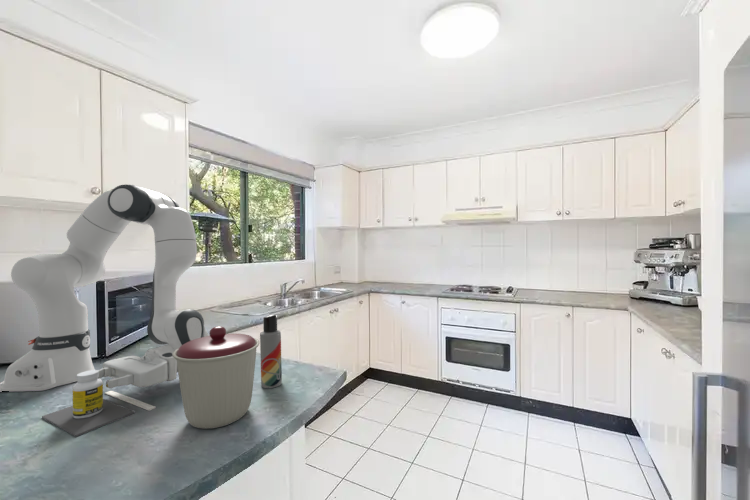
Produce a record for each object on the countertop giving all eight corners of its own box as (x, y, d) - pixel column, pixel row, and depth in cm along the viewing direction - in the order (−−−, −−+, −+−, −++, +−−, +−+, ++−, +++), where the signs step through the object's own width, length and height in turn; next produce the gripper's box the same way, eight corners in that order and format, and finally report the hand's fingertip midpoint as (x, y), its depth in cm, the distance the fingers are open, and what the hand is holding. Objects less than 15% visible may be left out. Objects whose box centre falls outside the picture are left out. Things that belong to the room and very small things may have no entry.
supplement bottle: (85, 420, 74) (84, 377, 74) (66, 418, 75) (65, 376, 75) (109, 408, 79) (108, 369, 79) (91, 407, 80) (90, 368, 80)
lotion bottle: (273, 389, 89) (272, 317, 89) (256, 387, 91) (255, 316, 91) (285, 381, 94) (284, 313, 94) (269, 379, 96) (268, 312, 96)
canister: (199, 450, 62) (197, 341, 62) (159, 423, 73) (157, 330, 73) (276, 411, 77) (274, 323, 77) (233, 393, 88) (232, 315, 88)
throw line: (104, 393, 89) (104, 392, 89) (111, 391, 90) (111, 390, 90) (149, 410, 79) (149, 409, 79) (155, 408, 80) (155, 406, 80)
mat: (41, 417, 76) (41, 416, 76) (98, 398, 86) (98, 396, 86) (75, 436, 68) (75, 435, 68) (134, 413, 78) (134, 411, 78)
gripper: (138, 347, 96) (78, 362, 84) (179, 356, 86) (118, 375, 74) (138, 368, 96) (79, 386, 84) (179, 380, 86) (119, 402, 74)
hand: (97, 381), depth 79 cm, fingers open, 8 cm apart
